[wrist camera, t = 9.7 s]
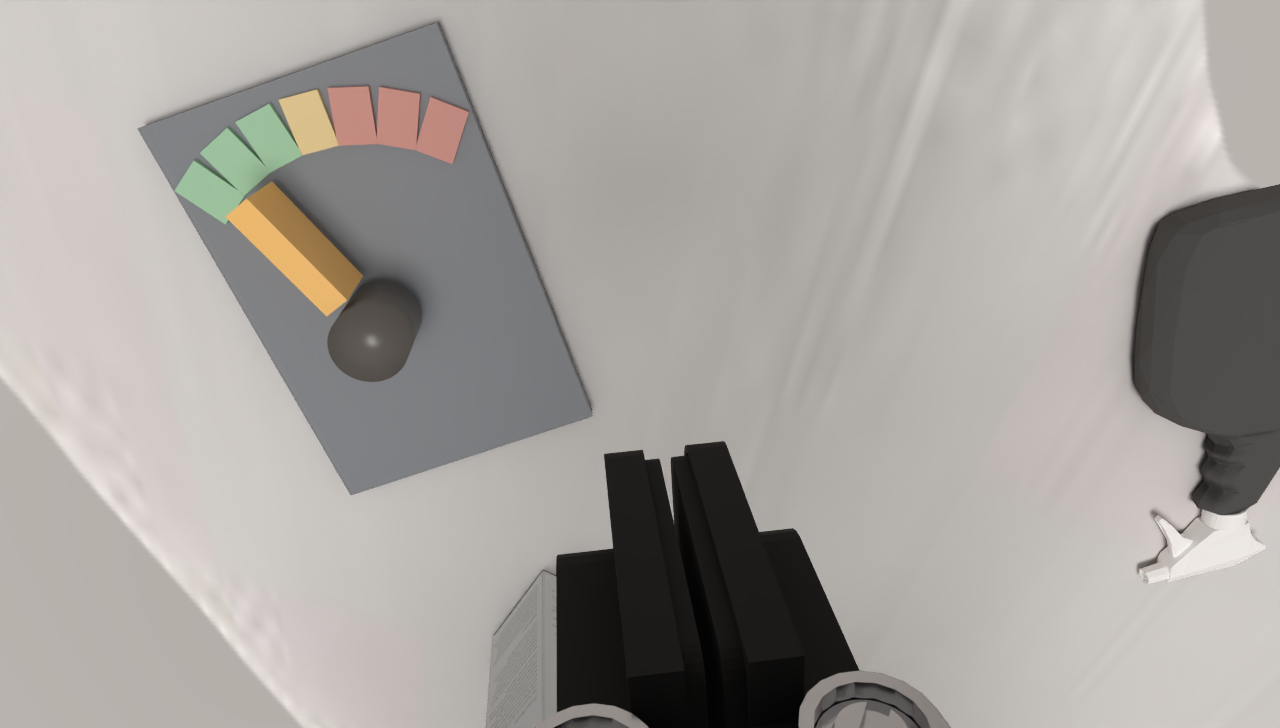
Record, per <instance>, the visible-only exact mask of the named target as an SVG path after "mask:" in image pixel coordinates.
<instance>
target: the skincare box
mask: <svg viewBox="0 0 1280 728" xmlns="http://www.w3.org/2000/svg"><path fill="white" fill-rule="evenodd" d="M554 713H557V625H556V576H554V575H552V574H550V573H547V572H545V571H543V572H541V574H540V575H539V577H538V578H537V579H536V581H535V582H534V583H533V585H532V586H531V587H530V589H529V590H528V591H527V593H526V594H525V595H524V597H523V598H522V599H521V601H520V602H519V603H518V605H517V606H516V607H515V609H514V610H513V611H512V613H511V614H510V616H509V617H508V618H507V620H506V621H505V622H504V624H503V625H502V626H501V628H500V629H499V630H498V632H497V633H496V634H495V635H494V637H493V640H492V652H491V664H490V677H489V689H488V704H487V716H486V728H534V727H536V726H537V725H538V724H540V723H541V722H543V721H544V720H545V719H547V718H548V717H549V716H551V715H552V714H554Z"/></svg>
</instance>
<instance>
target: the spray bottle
mask: <svg viewBox="0 0 1280 728" xmlns="http://www.w3.org/2000/svg"><path fill="white" fill-rule="evenodd" d="M1134 383H1135V385H1136V387H1137V389H1138V391H1139V393H1140V395H1141V397H1142V399H1143V400H1144V402H1145V403H1146V404H1147V405H1148V406H1149V407H1150V408H1151V409H1152V410H1153V412H1154V413H1156V414H1158V415H1160V416H1162V417H1164V418H1166V419H1168V420H1170V421H1172V422H1174V423H1176V424H1178V425H1180V426H1183V427H1187V428H1190V429H1194V430H1197V431H1201V432H1205V433H1207V435H1208V439H1207V442H1206V448H1205V450H1206V452H1207V454H1208V455H1207V457H1206V459H1205V461H1204V463H1203V465H1202V468H1201V472H1202V475H1203V478H1204V480H1203V482H1202V483H1201V484H1200V485H1199V486H1198V488H1197V489H1196V490H1195V492H1194V493H1193V498H1192V500H1193V502H1194V503H1195V504H1196V506H1197V507H1198V508H1199V509H1202V514H1201V516H1200V517H1197V518H1196V519H1195V520H1194V521H1193V522H1192V523H1191V524H1190V525H1189V526H1188V527H1187V528H1186V530H1185V531H1184V532H1183V533H1182V534H1179V533H1178V532H1177V531H1176V530H1175V529H1174V528H1173V527H1172V526H1171V525H1170V524H1169V523H1168V522H1167V521H1166V520H1164V519H1163V518H1162V517H1161V516H1159V515H1157V516H1156V517H1155V520H1156V522H1157V523H1158V525H1159V527H1160V528H1161V530H1162V532H1163V534H1164V535H1165V537H1166V539H1167V545H1168V546H1167V547H1166V548H1165V549H1164V550H1163V551H1161V552H1160V554H1159V556H1158V560H1157V563H1156V564H1153V565H1150V566H1147V567H1144V568H1141V569H1139V575H1140V577H1141V579H1142V581H1143V582H1144V583H1145V584H1149V583H1153V582H1157V581H1162V580H1165V581H1166V582H1170V581H1174V580H1178V579H1182V578H1186V577H1190V576H1194V575H1198V574H1202V573H1206V572H1210V571H1214V570H1218V569H1222V568H1225V567H1229V566H1233V565H1237V564H1238V563H1240V562H1242V561H1244V560H1246V559H1247V558H1249V557H1251V556H1253V555H1255V554H1256V553H1258V552H1260V551H1262V550H1264V549H1265V548H1266V545H1264V544H1263V543H1262V542H1261V541H1259V540H1258V539H1257V538H1256V537H1254V536H1253V535H1252V534H1251V531H1250V524H1249V522H1248V521H1247V520H1246V519H1247V513H1248V507H1250V506H1252V505H1254V504H1255V503H1257V501H1258V500H1259V498H1260V497H1261V495H1262V494H1263V492H1264V491H1265V489H1266V488H1267V486H1268V485H1269V483H1270V482H1271V480H1272V478H1273V477H1274V475H1275V474H1276V472H1277V471H1278V469H1279V468H1280V184H1279V185H1275V186H1270V187H1266V188H1262V189H1257V190H1252V191H1248V192H1243V193H1239V194H1234V195H1230V196H1225V197H1221V198H1217V199H1213V200H1210V201H1207V202H1203V203H1200V204H1197V205H1195V206H1192V207H1189V208H1186V209H1183V210H1180V211H1177V212H1174V213H1173V214H1171V215H1170V216H1168V217H1166V218H1165V219H1163V220H1162V221H1161V222H1159V224H1158V227H1157V229H1156V232H1155V234H1154V237H1153V239H1152V242H1151V244H1150V247H1149V249H1148V255H1147V261H1146V267H1145V273H1144V280H1143V286H1142V292H1141V298H1140V305H1139V311H1138V317H1137V324H1136V343H1135V373H1134Z"/></svg>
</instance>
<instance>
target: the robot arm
mask: <svg viewBox="0 0 1280 728" xmlns="http://www.w3.org/2000/svg"><path fill="white" fill-rule="evenodd" d="M604 459H605V469H606V479H607V489H608V499H609V509H610V519H611V530H612V540H613V549H607V550H598V551H589V552H580V553H571V554H562V555H557V562H556V625H557V713H554V714H552V715H551V716H549V717H548V718H547V719H545V720H544V721H543V722H541V723H540V724H538V725H537V726H536V727H534V728H951V727H950V726H949V725H948V723H947V722H946V720H945V719H944V718H943V716H942V715H941V713H940V712H939V711H938V709H937V708H936V707H935V706H934V705H933V704H932V703H931V702H930V701H929V700H928V699H927V698H926V697H925V696H924V695H923V694H922V693H921V692H919V691H918V690H916V689H915V688H913V687H912V686H910V685H908V684H907V683H905V682H904V681H901V680H899V679H896V678H893V677H890V676H887V675H885V674H882V673H874V672H866V671H859V669H858V666H857V664H856V662H855V660H854V657H853V655H852V653H851V651H850V648H849V646H848V644H847V642H846V639H845V637H844V635H843V633H842V630H841V628H840V626H839V624H838V621H837V619H836V617H835V615H834V612H833V610H832V608H831V606H830V603H829V601H828V599H827V597H826V594H825V592H824V590H823V588H822V585H821V583H820V581H819V579H818V576H817V574H816V572H815V570H814V567H813V565H812V563H811V561H810V558H809V556H808V554H807V552H806V549H805V547H804V545H803V543H802V540H801V538H800V536H799V535H798V533H797V531H796V530H794V529H793V528H792V529H783V530H774V531H766V532H759V531H758V529H757V526H756V523H755V520H754V518H753V515H752V512H751V510H750V507H749V504H748V502H747V499H746V496H745V494H744V491H743V488H742V486H741V483H740V480H739V478H738V475H737V472H736V470H735V467H734V464H733V462H732V459H731V456H730V453H729V451H728V448H727V445H726V443H725V442H724V441H722V442H713V443H703V444H694V445H685V451H684V456H679V457H671V475H672V493H673V510H674V522H673V518H672V513H671V509H670V504H669V500H668V495H667V491H666V486H665V482H664V477H663V473H662V468H661V463H660V460H659V459H651V460H645V458H644V453H643V450H637V451H628V452H618V453H609V454H604Z"/></svg>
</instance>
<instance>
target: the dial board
mask: <svg viewBox="0 0 1280 728" xmlns="http://www.w3.org/2000/svg"><path fill="white" fill-rule="evenodd" d="M138 130H139V132H140V134H141V135H142V137H143V139H144V141H145V142H146V144H147V146H148V147H149V149H150V151H151V153H152V154H153V156H154V158H155V160H156V161H157V163H158V165H159V166H160V168H161V170H162V172H163V173H164V175H165V177H166V178H167V180H168V182H169V184H170V185H171V187H172V189H173V190H174V192H175V194H176V196H177V197H178V199H179V201H180V203H181V204H182V206H183V208H184V209H185V211H186V213H187V215H188V216H189V218H190V220H191V221H192V223H193V225H194V227H195V228H196V230H197V232H198V234H199V235H200V237H201V239H202V240H203V242H204V244H205V246H206V247H207V249H208V251H209V252H210V254H211V256H212V258H213V259H214V261H215V263H216V264H217V266H218V268H219V270H220V271H221V273H222V275H223V277H224V278H225V280H226V282H227V283H228V285H229V287H230V289H231V290H232V292H233V294H234V295H235V297H236V299H237V301H238V302H239V304H240V306H241V307H242V309H243V311H244V313H245V314H246V316H247V318H248V320H249V321H250V323H251V325H252V326H253V328H254V330H255V332H256V333H257V335H258V337H259V338H260V340H261V342H262V344H263V345H264V347H265V349H266V350H267V352H268V354H269V356H270V357H271V359H272V361H273V363H274V364H275V366H276V368H277V369H278V371H279V373H280V375H281V376H282V378H283V380H284V381H285V383H286V385H287V387H288V388H289V390H290V392H291V393H292V395H293V397H294V399H295V400H296V402H297V404H298V406H299V407H300V409H301V411H302V412H303V414H304V416H305V418H306V419H307V421H308V423H309V424H310V426H311V428H312V430H313V431H314V433H315V435H316V436H317V438H318V440H319V442H320V443H321V445H322V447H323V449H324V450H325V452H326V454H327V455H328V457H329V459H330V461H331V462H332V464H333V466H334V467H335V469H336V471H337V473H338V474H339V476H340V478H341V479H342V481H343V483H344V485H345V486H346V488H347V490H348V492H349V493H350V495H353V494H356V493H360V492H363V491H366V490H369V489H372V488H375V487H378V486H381V485H384V484H387V483H390V482H393V481H396V480H399V479H402V478H405V477H408V476H411V475H415V474H418V473H421V472H424V471H427V470H430V469H433V468H436V467H439V466H442V465H445V464H448V463H451V462H454V461H457V460H460V459H463V458H466V457H469V456H473V455H476V454H479V453H482V452H485V451H488V450H491V449H494V448H497V447H500V446H503V445H506V444H509V443H512V442H515V441H518V440H521V439H524V438H528V437H531V436H534V435H537V434H540V433H543V432H546V431H549V430H552V429H555V428H558V427H561V426H564V425H567V424H570V423H573V422H576V421H579V420H583V419H586V418H589V417H592V408H591V406H590V403H589V401H588V398H587V396H586V393H585V390H584V388H583V385H582V383H581V380H580V378H579V375H578V373H577V370H576V368H575V365H574V363H573V360H572V358H571V355H570V353H569V350H568V347H567V345H566V342H565V340H564V337H563V335H562V332H561V330H560V327H559V325H558V322H557V320H556V317H555V315H554V312H553V310H552V307H551V304H550V302H549V299H548V297H547V294H546V292H545V289H544V287H543V284H542V282H541V279H540V277H539V274H538V272H537V269H536V266H535V264H534V261H533V259H532V256H531V254H530V251H529V249H528V246H527V244H526V241H525V239H524V236H523V234H522V231H521V229H520V226H519V223H518V221H517V218H516V216H515V213H514V211H513V208H512V206H511V203H510V201H509V198H508V196H507V193H506V191H505V188H504V186H503V183H502V180H501V178H500V175H499V173H498V170H497V168H496V165H495V163H494V160H493V158H492V155H491V153H490V150H489V148H488V145H487V143H486V140H485V137H484V135H483V132H482V130H481V127H480V125H479V122H478V120H477V117H476V115H475V112H474V110H473V107H472V105H471V102H470V99H469V97H468V94H467V92H466V89H465V87H464V84H463V82H462V79H461V77H460V74H459V72H458V69H457V67H456V64H455V62H454V59H453V56H452V54H451V51H450V49H449V46H448V44H447V41H446V39H445V36H444V34H443V31H442V29H441V26H440V24H439V22H437V23H434V24H431V25H428V26H426V27H423V28H420V29H417V30H414V31H412V32H409V33H406V34H403V35H400V36H397V37H395V38H392V39H389V40H386V41H383V42H380V43H378V44H375V45H372V46H369V47H366V48H364V49H361V50H358V51H355V52H352V53H349V54H347V55H344V56H341V57H338V58H335V59H333V60H330V61H327V62H324V63H321V64H318V65H316V66H313V67H310V68H307V69H304V70H302V71H299V72H296V73H293V74H290V75H287V76H285V77H282V78H279V79H276V80H273V81H270V82H268V83H265V84H262V85H259V86H256V87H254V88H251V89H248V90H245V91H242V92H239V93H237V94H234V95H231V96H228V97H225V98H223V99H220V100H217V101H214V102H211V103H208V104H206V105H203V106H200V107H197V108H194V109H192V110H189V111H186V112H183V113H180V114H177V115H175V116H172V117H169V118H166V119H163V120H160V121H158V122H155V123H152V124H149V125H146V126H144V127H141V128H138ZM271 181H272V182H273V183H274V184H275V185H276V186H277V187H278V188H279V189H280V190H281V191H282V192H283V193H284V194H285V195H286V196H287V197H288V198H289V199H290V200H291V201H292V203H293V204H294V205H295V206H296V207H297V208H298V209H299V210H300V211H301V212H302V213H303V214H304V215H305V216H306V217H307V218H308V219H309V220H310V221H311V222H312V223H313V224H314V225H315V226H316V227H317V228H318V229H319V230H320V232H321V233H322V234H323V235H324V236H325V237H326V238H327V239H328V240H329V241H330V242H331V243H332V244H333V245H334V246H335V247H336V248H337V249H338V250H339V251H340V252H341V253H342V254H343V255H344V256H345V257H346V258H347V260H348V261H349V262H350V263H351V264H352V265H353V266H354V267H355V268H356V269H357V270H358V271H359V272H360V273H361V274H362V275H363V277H362V279H361V280H360V282H359V283H358V285H357V286H356V288H355V289H354V291H353V293H354V292H355V291H356V290H357V289H358V288H359V287H361V286H362V285H364V284H366V283H369V282H372V281H378V280H385V281H391V282H395V283H397V284H400V285H402V286H403V287H405V288H406V289H408V290H409V291H410V292H411V293H412V294H413V295H414V296H415V298H416V299H417V301H418V303H419V305H420V308H421V313H422V321H421V325H420V328H419V331H418V333H417V336H416V338H415V341H414V344H413V346H412V349H411V351H410V354H409V356H408V359H407V361H406V363H405V365H404V367H403V368H402V369H401V370H400V372H398V373H397V374H396V375H394V376H393V377H391V378H389V379H387V380H384V381H379V382H365V381H360V380H357V379H354V378H352V377H350V376H348V375H346V374H345V373H343V372H342V371H341V370H340V369H339V368H338V367H337V366H336V365H335V363H334V362H333V360H332V359H331V357H330V354H329V351H328V346H327V339H328V334H329V331H330V329H331V327H332V325H333V324H334V322H335V321H336V319H337V318H338V316H339V315H340V313H341V312H342V310H343V309H344V307H345V305H346V304H347V302H348V301H349V299H350V298H351V296H352V295H353V293H352V294H351V296H350V297H349V299H348V300H347V301H346V302H345V303H343V304H342V305H341V306H340V307H338V308H337V309H336V310H334V311H333V312H332V313H331V314H329V315H328V316H326V315H325V314H324V313H323V312H322V311H321V310H319V309H318V308H317V307H316V306H315V305H314V304H313V303H312V302H311V301H310V300H309V299H308V298H307V297H306V296H305V295H304V294H303V293H302V292H301V291H300V290H299V289H298V288H297V287H296V286H295V285H294V284H293V283H292V282H291V281H290V280H289V279H288V278H287V277H286V276H285V275H284V274H283V273H282V272H281V271H280V270H279V269H278V268H277V267H276V266H275V265H274V264H273V263H272V262H271V261H270V260H269V259H268V258H267V257H266V256H265V255H264V254H263V253H262V252H261V251H260V250H259V249H258V248H257V247H256V246H255V245H254V244H252V243H251V242H250V241H249V240H248V239H247V238H246V237H245V236H244V235H243V234H242V233H241V232H240V231H239V230H238V229H237V228H236V227H235V226H234V225H233V224H232V223H231V222H230V221H229V220H228V219H227V218H226V216H227V215H228V214H229V213H230V212H231V211H233V210H234V209H235V208H236V207H237V206H239V205H240V204H241V203H242V202H243V201H244V200H246V199H247V198H248V197H250V196H251V195H253V194H254V193H256V192H257V191H258V190H260V189H261V188H263V187H264V186H266V185H267V184H269V183H270V182H271Z"/></svg>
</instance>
